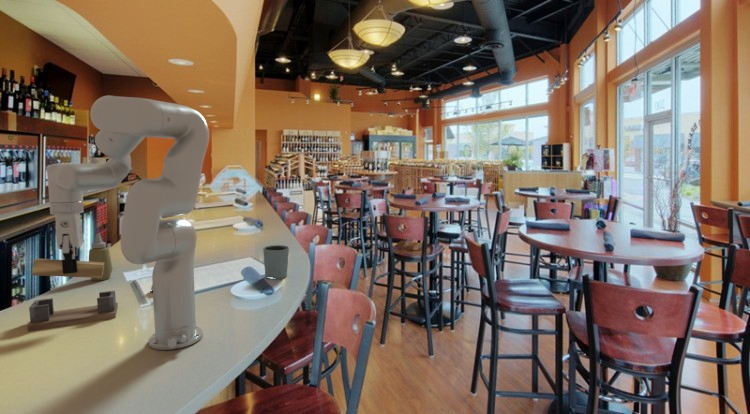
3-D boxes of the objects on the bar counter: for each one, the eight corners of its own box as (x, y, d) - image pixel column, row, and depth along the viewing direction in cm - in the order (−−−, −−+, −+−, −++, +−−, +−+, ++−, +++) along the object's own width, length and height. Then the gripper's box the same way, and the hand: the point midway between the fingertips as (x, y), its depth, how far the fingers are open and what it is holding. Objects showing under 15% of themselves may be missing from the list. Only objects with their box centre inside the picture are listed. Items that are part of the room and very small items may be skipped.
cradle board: (115, 317, 118) (114, 298, 118) (27, 331, 109) (26, 309, 108) (117, 307, 127) (116, 288, 126) (37, 318, 117) (35, 298, 117)
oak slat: (101, 278, 117) (103, 264, 117) (31, 275, 109) (33, 260, 109) (102, 275, 120) (104, 262, 120) (33, 272, 112) (36, 258, 112)
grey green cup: (263, 274, 166) (262, 245, 165) (288, 272, 169) (287, 244, 168) (264, 280, 156) (263, 250, 155) (290, 278, 159) (290, 249, 158)
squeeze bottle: (91, 277, 160) (87, 233, 158) (114, 275, 163) (112, 231, 161) (86, 282, 152) (82, 236, 151) (111, 280, 156) (108, 235, 154)
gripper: (79, 210, 108) (83, 277, 110) (86, 204, 122) (90, 263, 124) (43, 211, 104) (48, 280, 106) (55, 205, 118) (59, 266, 120)
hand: (71, 270), depth 115 cm, fingers closed on oak slat, 3 cm apart
